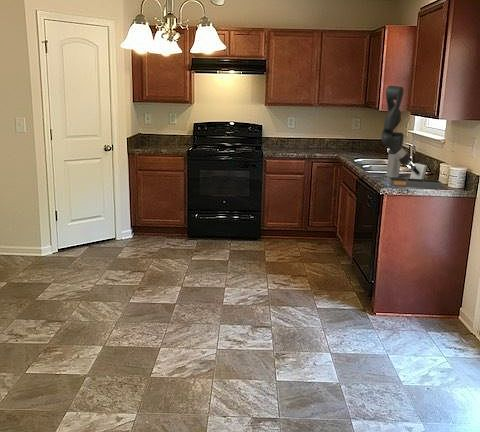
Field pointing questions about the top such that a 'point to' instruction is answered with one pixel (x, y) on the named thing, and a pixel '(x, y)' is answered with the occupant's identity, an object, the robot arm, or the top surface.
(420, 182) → the rack
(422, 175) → the small box
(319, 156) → the top surface
